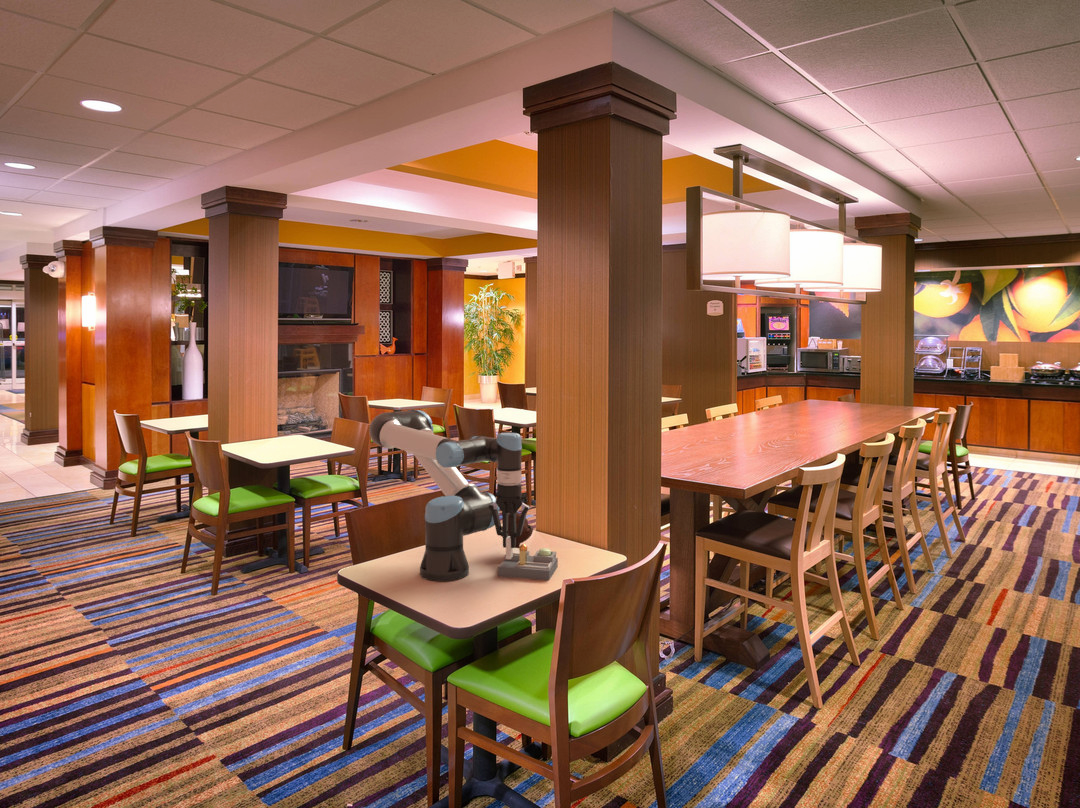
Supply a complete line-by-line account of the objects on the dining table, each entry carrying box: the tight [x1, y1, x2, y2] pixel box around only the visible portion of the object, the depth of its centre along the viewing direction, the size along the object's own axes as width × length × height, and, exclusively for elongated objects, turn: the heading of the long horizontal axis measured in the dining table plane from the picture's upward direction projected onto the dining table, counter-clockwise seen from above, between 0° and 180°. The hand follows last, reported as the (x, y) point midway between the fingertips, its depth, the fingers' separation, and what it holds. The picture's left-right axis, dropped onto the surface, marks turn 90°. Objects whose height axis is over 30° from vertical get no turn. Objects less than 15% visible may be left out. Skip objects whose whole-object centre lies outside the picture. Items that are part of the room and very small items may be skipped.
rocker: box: [513, 548, 520, 555], centre depth 221 cm, size 4×3×1 cm
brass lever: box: [519, 543, 528, 565], centre depth 214 cm, size 3×3×6 cm
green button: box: [538, 547, 551, 556], centre depth 219 cm, size 4×4×3 cm
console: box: [497, 550, 559, 581], centre depth 217 cm, size 16×13×5 cm
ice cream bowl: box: [508, 511, 534, 548], centre depth 234 cm, size 11×11×15 cm
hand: (509, 557), depth 215 cm, fingers closed
